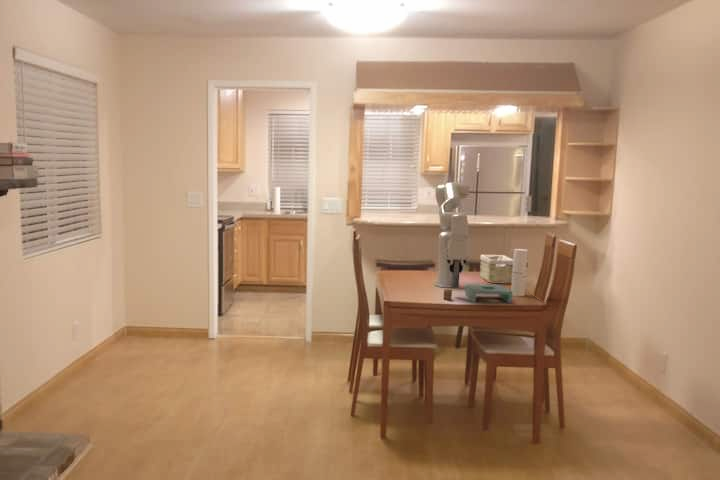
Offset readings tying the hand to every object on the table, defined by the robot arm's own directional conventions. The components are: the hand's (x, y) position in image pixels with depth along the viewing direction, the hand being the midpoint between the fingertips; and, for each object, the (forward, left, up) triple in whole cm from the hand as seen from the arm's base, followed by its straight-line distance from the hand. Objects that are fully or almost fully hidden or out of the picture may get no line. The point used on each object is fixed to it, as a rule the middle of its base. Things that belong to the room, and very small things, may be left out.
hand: (455, 271), depth 295 cm
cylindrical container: (-9, +37, -14) cm, 41 cm away
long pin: (0, 0, -8) cm, 8 cm away
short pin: (+7, -5, -13) cm, 16 cm away
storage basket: (-51, +37, -14) cm, 64 cm away
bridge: (+4, +17, -13) cm, 22 cm away
